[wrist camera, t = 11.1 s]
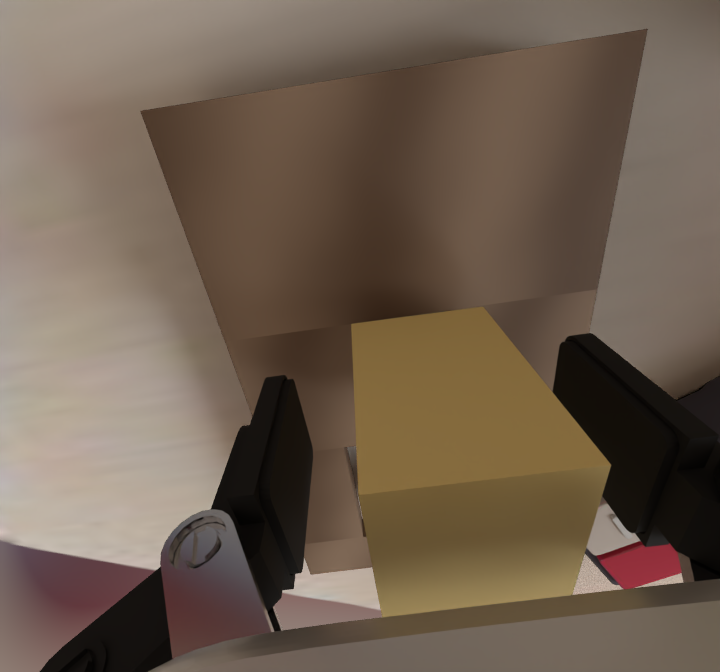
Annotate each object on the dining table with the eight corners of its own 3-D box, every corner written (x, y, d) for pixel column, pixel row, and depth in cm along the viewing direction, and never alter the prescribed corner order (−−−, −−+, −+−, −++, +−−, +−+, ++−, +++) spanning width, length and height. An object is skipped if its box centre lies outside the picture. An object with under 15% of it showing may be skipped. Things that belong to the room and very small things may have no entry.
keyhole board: (563, 58, 13) (647, 29, 9) (516, 484, 23) (547, 546, 20) (195, 117, 13) (140, 110, 9) (315, 509, 24) (310, 574, 20)
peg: (451, 240, 16) (651, 437, 5) (452, 341, 18) (591, 606, 8) (335, 256, 16) (321, 478, 6) (351, 354, 18) (361, 631, 8)
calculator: (552, 524, 20) (893, 388, 15) (522, 460, 24) (788, 335, 19) (621, 600, 24) (903, 513, 20) (586, 536, 28) (817, 450, 23)
